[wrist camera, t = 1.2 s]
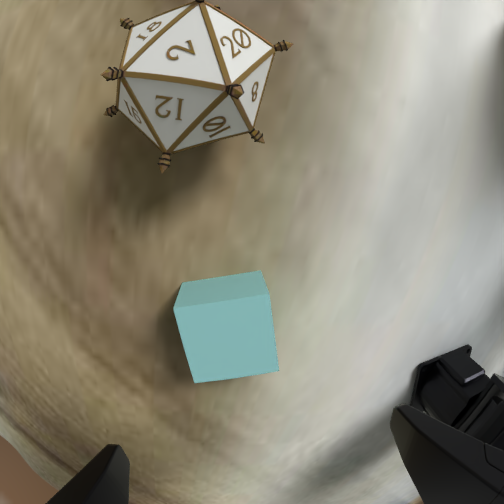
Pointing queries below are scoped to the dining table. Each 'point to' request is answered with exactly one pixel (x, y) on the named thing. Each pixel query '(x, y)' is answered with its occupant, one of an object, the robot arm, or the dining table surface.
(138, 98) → the game die
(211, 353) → the teal block
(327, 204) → the dining table surface
